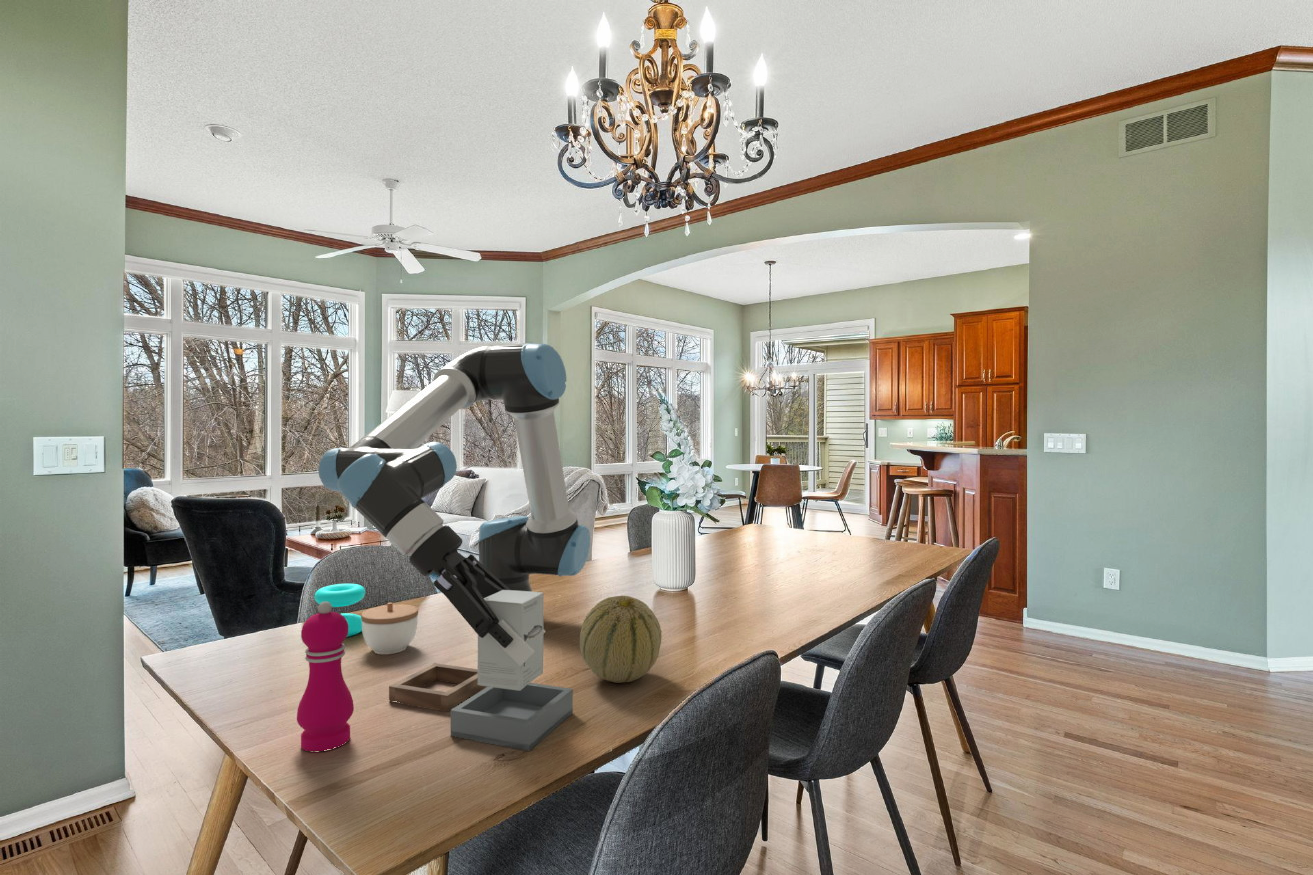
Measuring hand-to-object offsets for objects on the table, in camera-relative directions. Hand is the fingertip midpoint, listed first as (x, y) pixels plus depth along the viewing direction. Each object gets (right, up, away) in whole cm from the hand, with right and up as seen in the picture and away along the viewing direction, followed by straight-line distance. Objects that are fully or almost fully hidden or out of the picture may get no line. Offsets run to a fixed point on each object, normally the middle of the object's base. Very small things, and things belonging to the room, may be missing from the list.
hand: (533, 647), depth 99 cm
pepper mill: (-29, -12, -5) cm, 31 cm away
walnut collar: (-18, -12, +12) cm, 25 cm away
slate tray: (-3, -12, +1) cm, 12 cm away
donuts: (-51, -11, +46) cm, 69 cm away
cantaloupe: (+12, -12, +19) cm, 25 cm away
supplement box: (-3, -5, 0) cm, 6 cm away
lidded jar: (-35, -12, +35) cm, 51 cm away
